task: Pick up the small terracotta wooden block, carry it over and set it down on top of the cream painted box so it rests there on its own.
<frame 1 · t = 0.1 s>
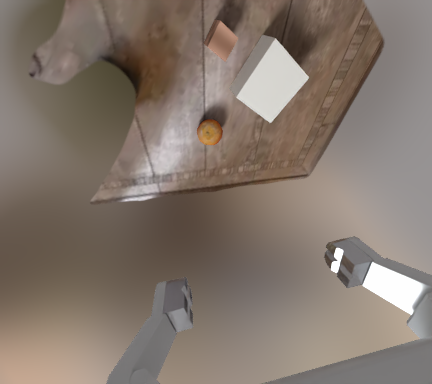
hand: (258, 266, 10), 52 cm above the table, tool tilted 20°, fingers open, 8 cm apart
terracotta block: (217, 39, 42), on the table
fruit: (208, 127, 58), on the table
cream box: (261, 79, 51), on the table
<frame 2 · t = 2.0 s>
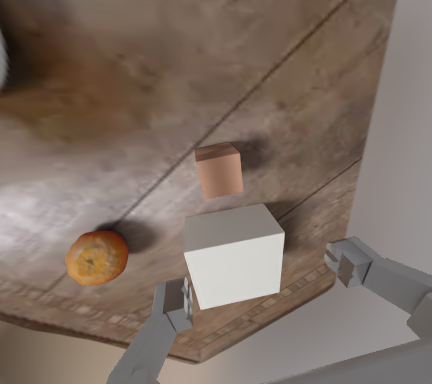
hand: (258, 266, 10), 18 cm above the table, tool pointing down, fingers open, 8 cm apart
terracotta block: (214, 161, 26), on the table
fruit: (110, 239, 30), on the table
cream box: (227, 239, 34), on the table
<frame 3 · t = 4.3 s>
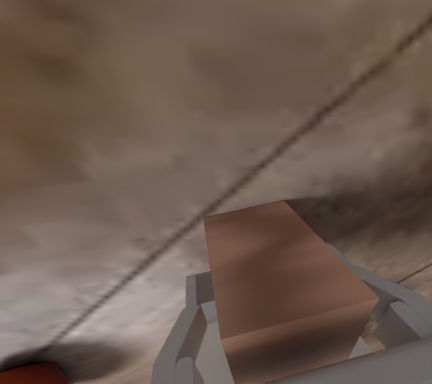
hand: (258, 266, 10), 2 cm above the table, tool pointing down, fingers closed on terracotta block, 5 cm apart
terracotta block: (246, 239, 12), on the table, touching gripper
fruit: (38, 369, 16), on the table
cream box: (256, 341, 20), on the table
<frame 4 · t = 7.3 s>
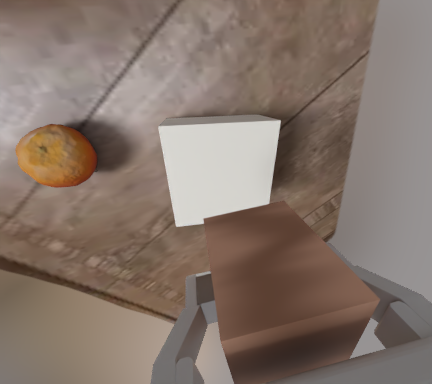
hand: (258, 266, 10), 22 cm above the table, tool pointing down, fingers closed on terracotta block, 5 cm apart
terracotta block: (247, 239, 12), point 20 cm above the table, touching gripper
fruit: (77, 149, 26), on the table
cream box: (214, 160, 30), on the table
when the fingers open (12 cm above the table, at t = 10.1 s): terracotta block drops 2 cm, resting on cream box.
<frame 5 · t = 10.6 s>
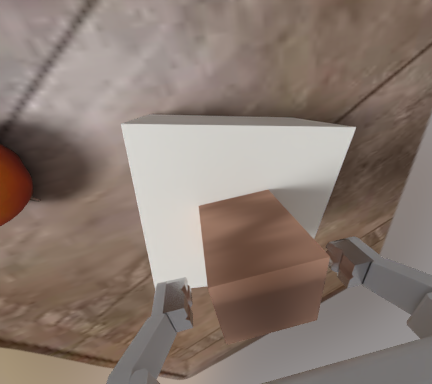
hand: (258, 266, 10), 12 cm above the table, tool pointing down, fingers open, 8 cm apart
terracotta block: (237, 225, 13), point 8 cm above the table, touching cream box
fruit: (3, 168, 16), on the table
cream box: (221, 181, 20), on the table, touching terracotta block
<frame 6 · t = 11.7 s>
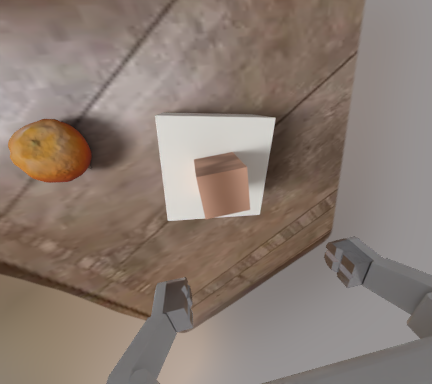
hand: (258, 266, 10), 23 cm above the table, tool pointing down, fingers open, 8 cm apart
terracotta block: (216, 173, 23), point 8 cm above the table
fruit: (72, 146, 26), on the table
cream box: (209, 157, 30), on the table
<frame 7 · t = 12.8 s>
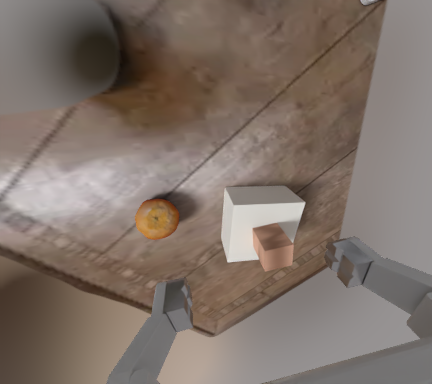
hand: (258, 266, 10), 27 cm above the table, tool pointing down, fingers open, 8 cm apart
terracotta block: (264, 235, 35), point 8 cm above the table, touching cream box
fruit: (160, 208, 37), on the table
cream box: (251, 212, 42), on the table, touching terracotta block
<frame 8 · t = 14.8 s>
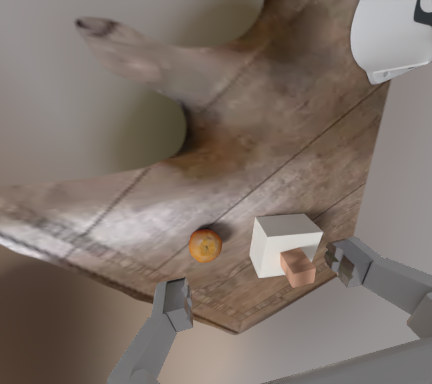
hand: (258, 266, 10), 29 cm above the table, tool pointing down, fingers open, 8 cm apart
terracotta block: (289, 256, 43), point 8 cm above the table, touching cream box
fruit: (204, 235, 46), on the table
cream box: (275, 234, 50), on the table, touching terracotta block
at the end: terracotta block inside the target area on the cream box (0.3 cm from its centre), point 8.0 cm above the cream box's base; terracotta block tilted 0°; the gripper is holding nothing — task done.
